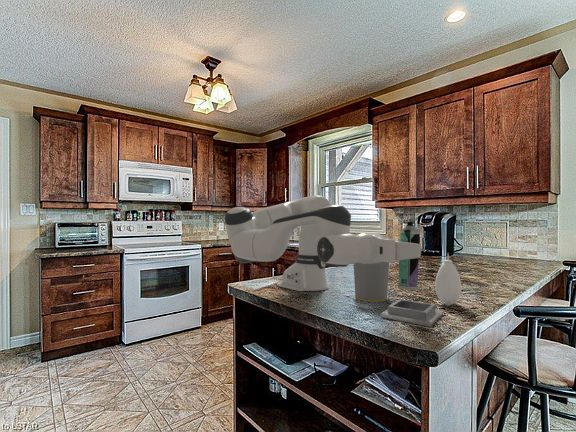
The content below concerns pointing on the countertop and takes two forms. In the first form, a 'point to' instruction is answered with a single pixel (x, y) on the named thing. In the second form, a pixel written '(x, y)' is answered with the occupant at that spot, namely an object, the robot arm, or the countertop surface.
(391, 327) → the countertop surface
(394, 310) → the socket block
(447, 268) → the white bulb air blower
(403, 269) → the spray can
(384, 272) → the soap bottle
